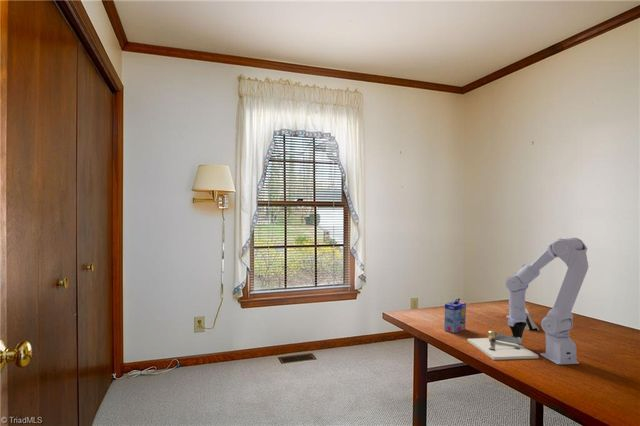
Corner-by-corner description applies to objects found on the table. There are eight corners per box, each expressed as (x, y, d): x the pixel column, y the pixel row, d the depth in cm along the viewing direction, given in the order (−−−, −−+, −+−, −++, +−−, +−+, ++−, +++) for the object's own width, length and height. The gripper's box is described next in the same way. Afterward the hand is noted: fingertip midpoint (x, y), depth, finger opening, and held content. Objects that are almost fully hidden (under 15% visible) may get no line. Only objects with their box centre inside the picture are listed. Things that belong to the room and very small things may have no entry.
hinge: (539, 330, 165) (530, 309, 166) (528, 333, 167) (519, 312, 168) (530, 320, 181) (522, 301, 182) (520, 323, 183) (512, 303, 184)
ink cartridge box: (455, 333, 163) (454, 300, 163) (443, 330, 167) (443, 298, 167) (466, 329, 169) (466, 297, 169) (455, 326, 173) (455, 295, 173)
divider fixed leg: (490, 341, 149) (490, 338, 149) (494, 342, 149) (494, 339, 149) (489, 349, 140) (489, 346, 140) (493, 350, 140) (493, 347, 140)
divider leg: (487, 340, 149) (487, 331, 149) (489, 338, 152) (489, 329, 152) (521, 346, 142) (521, 337, 142) (522, 344, 144) (522, 335, 144)
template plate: (538, 358, 134) (538, 353, 134) (493, 359, 133) (493, 355, 133) (507, 339, 154) (506, 335, 154) (467, 341, 153) (467, 337, 153)
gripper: (513, 301, 155) (513, 334, 155) (499, 307, 145) (499, 342, 145) (531, 304, 150) (532, 338, 150) (518, 311, 140) (519, 346, 140)
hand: (517, 340), depth 147 cm, fingers closed
